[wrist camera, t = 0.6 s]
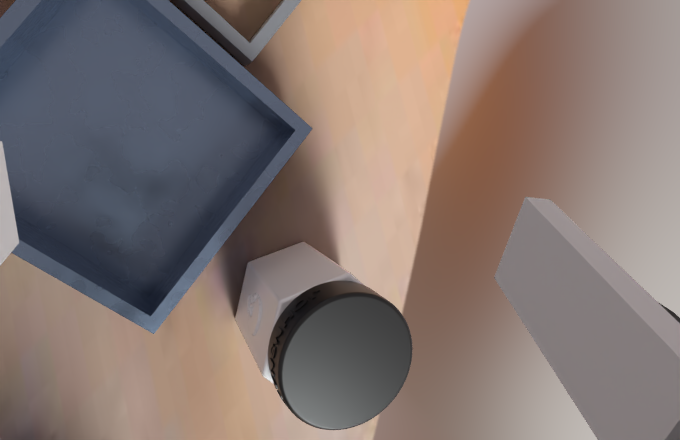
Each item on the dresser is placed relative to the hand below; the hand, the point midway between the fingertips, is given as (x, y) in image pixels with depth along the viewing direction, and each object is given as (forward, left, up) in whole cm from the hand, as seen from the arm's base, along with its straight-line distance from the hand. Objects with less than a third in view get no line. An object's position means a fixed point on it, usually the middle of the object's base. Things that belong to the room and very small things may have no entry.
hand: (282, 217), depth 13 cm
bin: (-2, +4, -23) cm, 24 cm away
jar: (-4, -12, -23) cm, 26 cm away
